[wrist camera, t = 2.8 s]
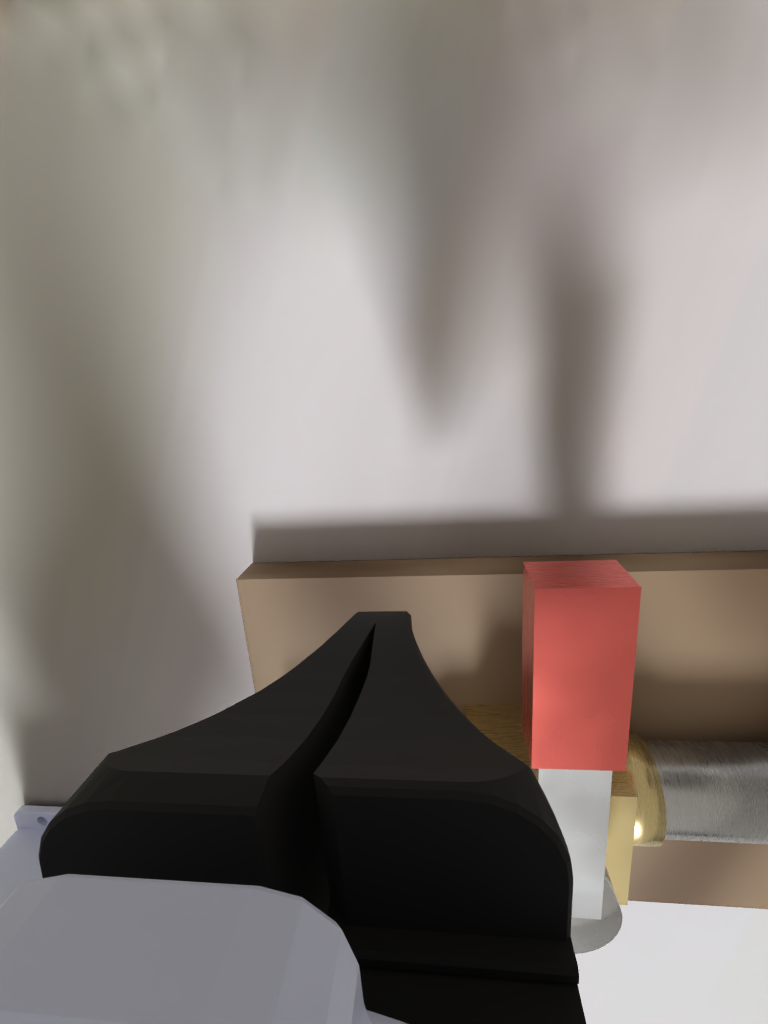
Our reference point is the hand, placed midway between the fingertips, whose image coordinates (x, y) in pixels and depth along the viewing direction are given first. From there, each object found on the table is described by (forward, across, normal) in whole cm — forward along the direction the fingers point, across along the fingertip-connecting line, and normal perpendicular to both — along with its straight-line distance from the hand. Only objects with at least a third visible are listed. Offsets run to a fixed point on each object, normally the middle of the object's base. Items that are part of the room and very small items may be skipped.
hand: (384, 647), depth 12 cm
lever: (0, -4, +3) cm, 5 cm away
